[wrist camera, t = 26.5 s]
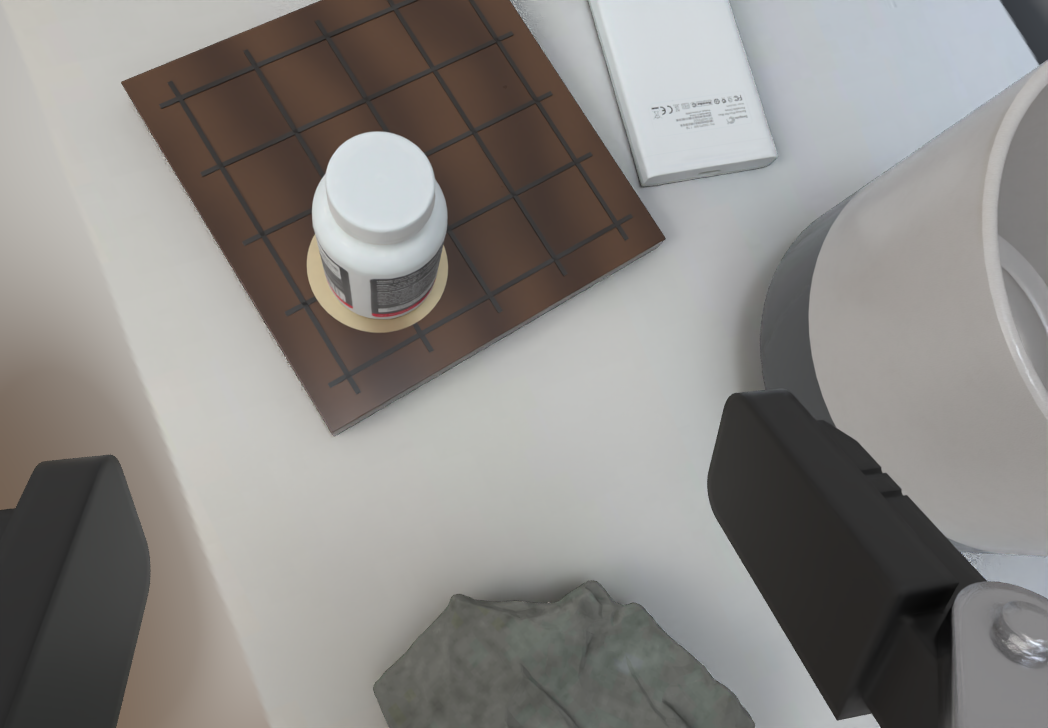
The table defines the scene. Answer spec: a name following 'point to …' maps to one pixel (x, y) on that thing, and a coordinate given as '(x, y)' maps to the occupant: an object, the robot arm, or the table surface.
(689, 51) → the hard drive
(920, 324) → the planter
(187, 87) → the board
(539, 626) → the stone
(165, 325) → the table surface
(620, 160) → the table surface
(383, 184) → the pill bottle
